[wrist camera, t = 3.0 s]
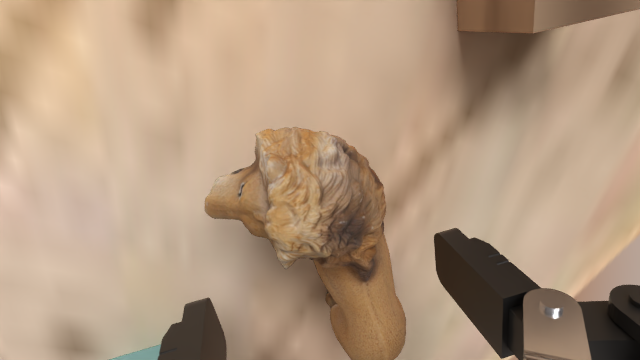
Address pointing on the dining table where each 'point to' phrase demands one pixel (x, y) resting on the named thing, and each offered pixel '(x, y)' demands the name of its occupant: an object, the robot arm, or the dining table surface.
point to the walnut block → (534, 13)
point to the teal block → (142, 354)
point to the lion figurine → (322, 229)
